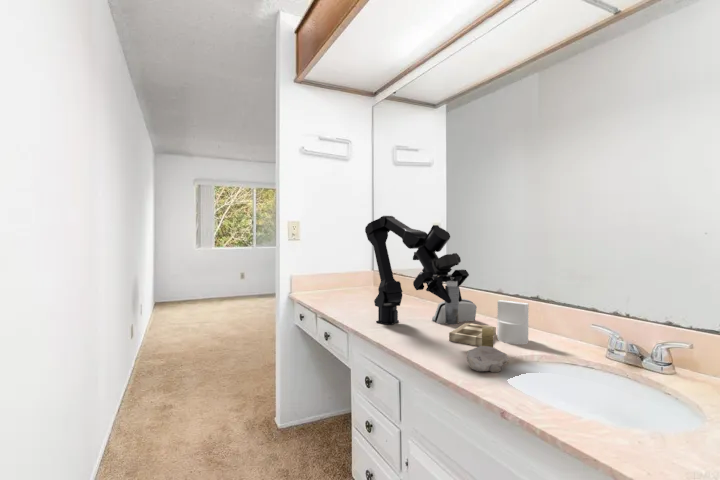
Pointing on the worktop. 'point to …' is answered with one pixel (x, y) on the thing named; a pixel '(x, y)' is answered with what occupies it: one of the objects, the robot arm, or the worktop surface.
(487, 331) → the square bit
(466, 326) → the block
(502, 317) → the cylinder with rectangular tab
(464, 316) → the grey curved block
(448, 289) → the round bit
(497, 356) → the fossil
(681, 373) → the worktop surface
